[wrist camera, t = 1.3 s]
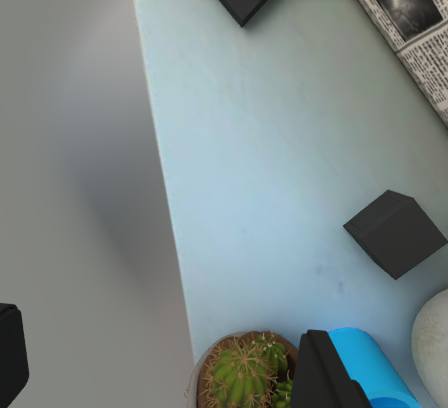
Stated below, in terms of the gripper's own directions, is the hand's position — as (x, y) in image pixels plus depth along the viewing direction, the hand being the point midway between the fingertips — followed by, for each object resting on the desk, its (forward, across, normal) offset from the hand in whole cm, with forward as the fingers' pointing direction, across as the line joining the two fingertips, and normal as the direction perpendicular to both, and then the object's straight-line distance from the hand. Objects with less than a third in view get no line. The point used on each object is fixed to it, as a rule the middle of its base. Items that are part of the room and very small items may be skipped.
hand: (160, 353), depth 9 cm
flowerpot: (+15, -6, +28) cm, 32 cm away
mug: (+21, -20, +20) cm, 35 cm away
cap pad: (+21, -19, +1) cm, 28 cm away
